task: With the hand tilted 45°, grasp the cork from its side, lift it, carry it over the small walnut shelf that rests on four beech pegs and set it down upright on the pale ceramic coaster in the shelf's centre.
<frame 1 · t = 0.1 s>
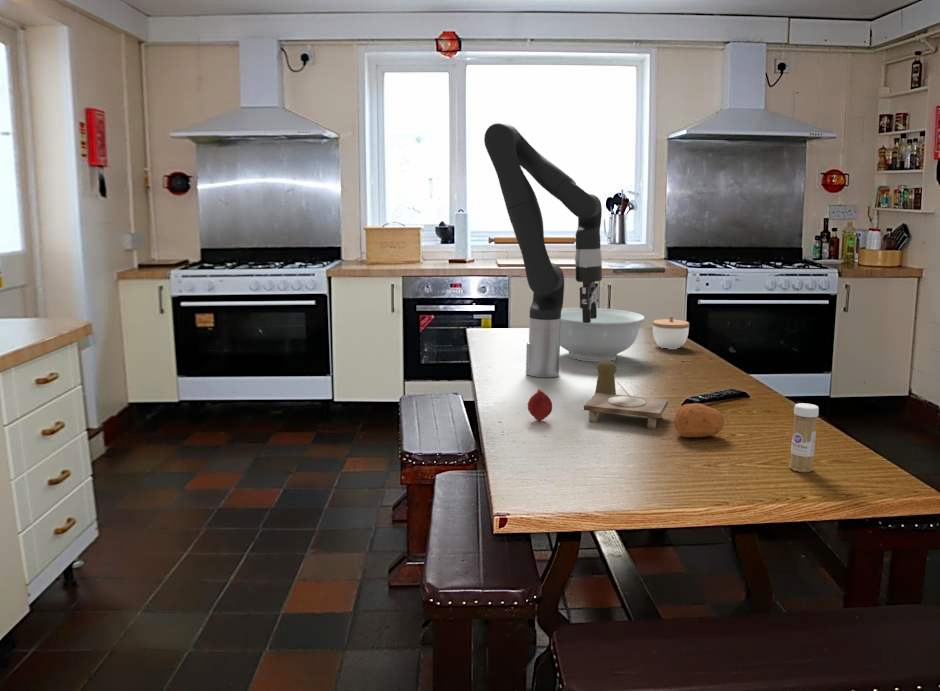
hand: (589, 320, 252), 17 cm above the table, tool pointing down, fingers open, 8 cm apart
lidded bowl: (669, 348, 306), on the table
peg shelf: (625, 419, 212), on the table
onion: (539, 421, 209), on the table
sprinkles bottle: (801, 470, 176), on the table
potato: (698, 437, 199), on the table
cork: (605, 403, 228), on the table
bowl: (592, 358, 287), on the table
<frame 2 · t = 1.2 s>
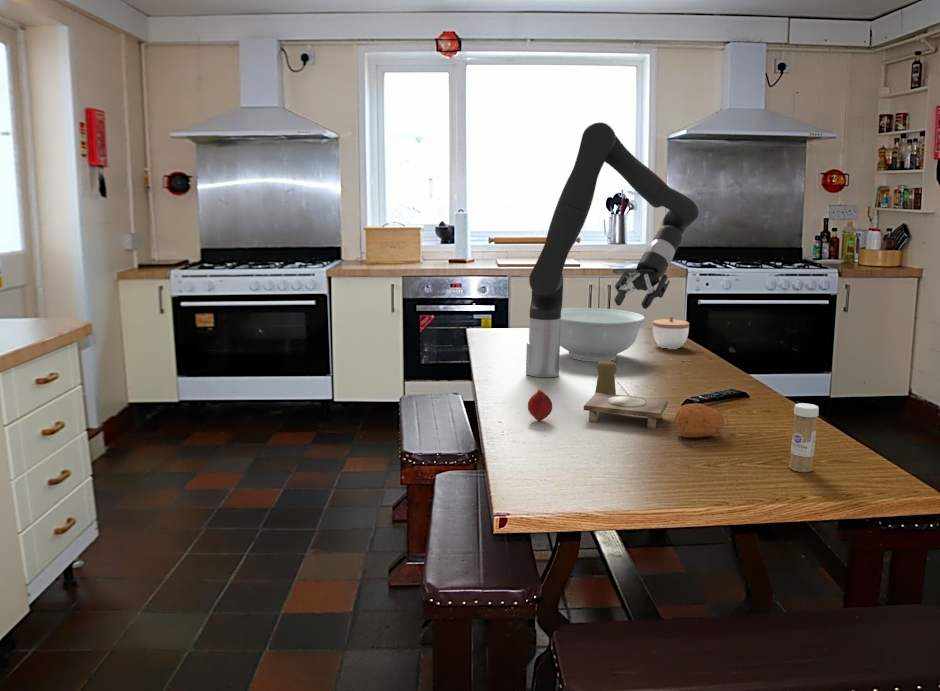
hand: (630, 305, 232), 25 cm above the table, tool tilted 45°, fingers open, 8 cm apart
nothing on the table moved.
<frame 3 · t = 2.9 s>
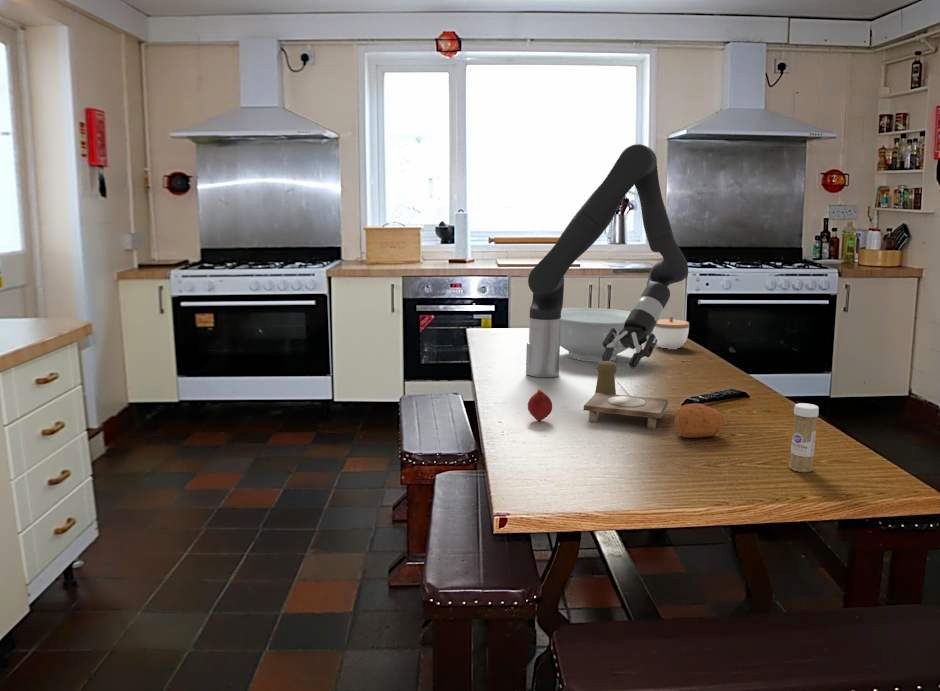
hand: (617, 364, 229), 10 cm above the table, tool tilted 45°, fingers open, 8 cm apart
nothing on the table moved.
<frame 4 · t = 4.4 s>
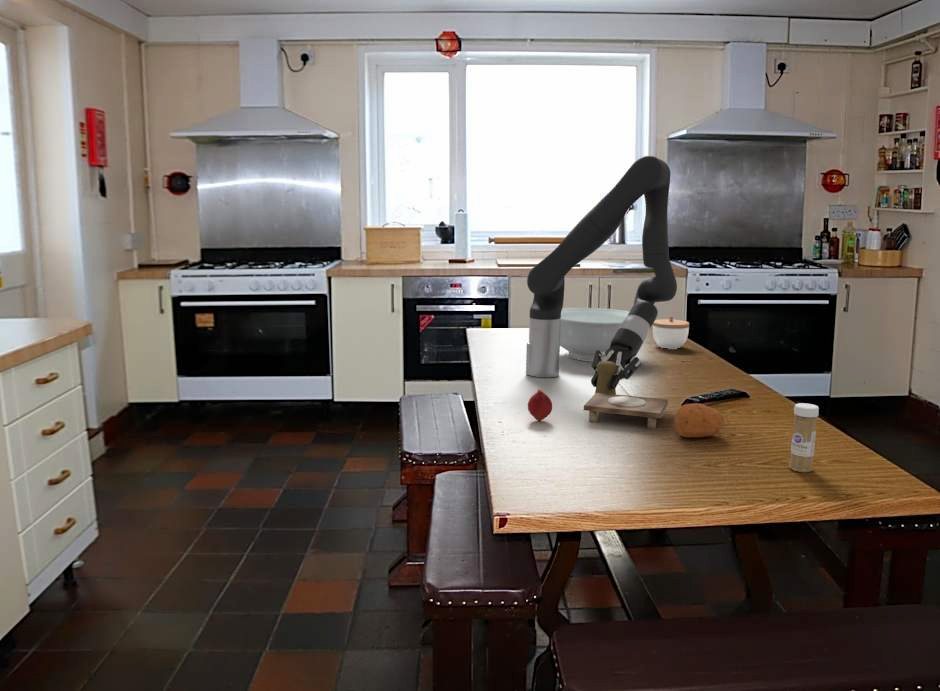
hand: (601, 386, 225), 5 cm above the table, tool tilted 45°, fingers closed on cork, 4 cm apart
cork: (605, 403, 228), on the table, touching gripper
everything else where it was.
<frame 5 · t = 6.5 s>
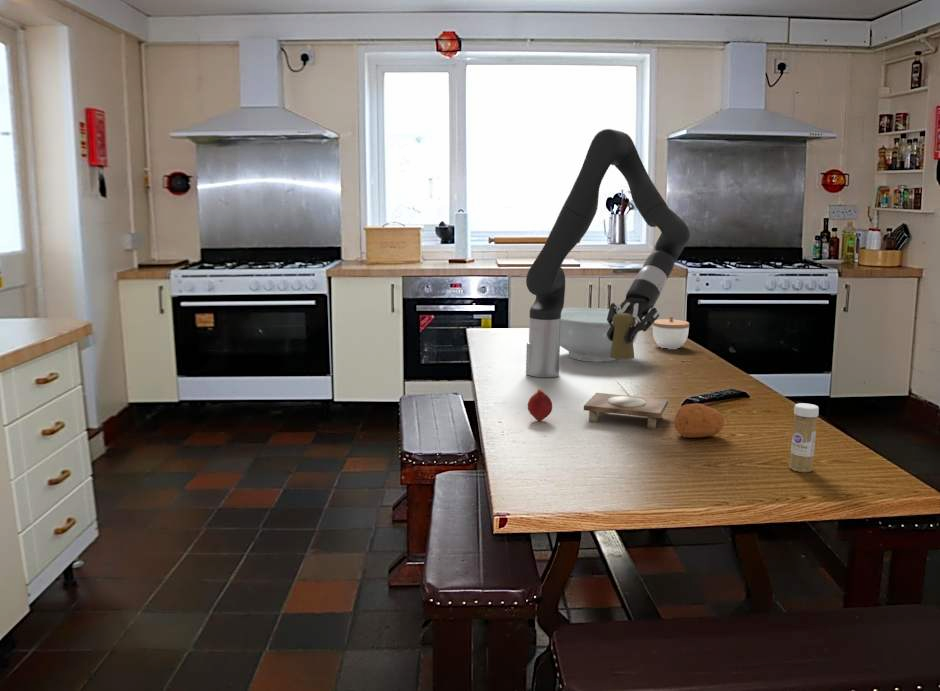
hand: (618, 339, 215), 18 cm above the table, tool tilted 45°, fingers closed on cork, 4 cm apart
cork: (622, 357, 217), point 14 cm above the table, touching gripper
everything else where it was.
when the fingers open (10 cm above the table, at t = 8.8 s): cork drops 1 cm, resting on peg shelf.
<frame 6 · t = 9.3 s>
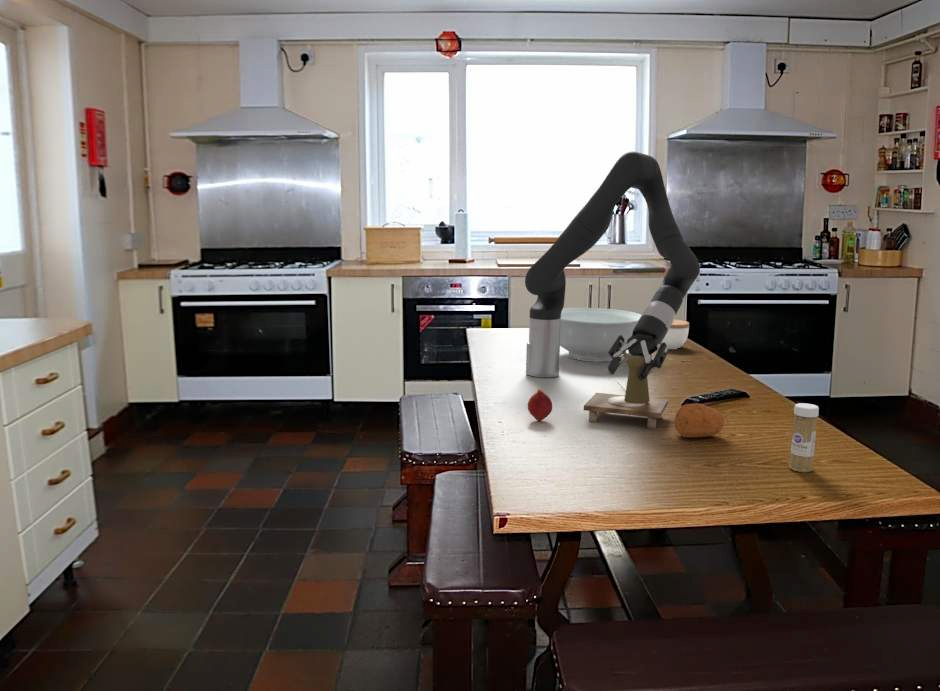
hand: (625, 375, 209), 11 cm above the table, tool tilted 45°, fingers open, 8 cm apart
cork: (636, 401, 211), point 5 cm above the table, touching gripper, peg shelf
everything else where it was.
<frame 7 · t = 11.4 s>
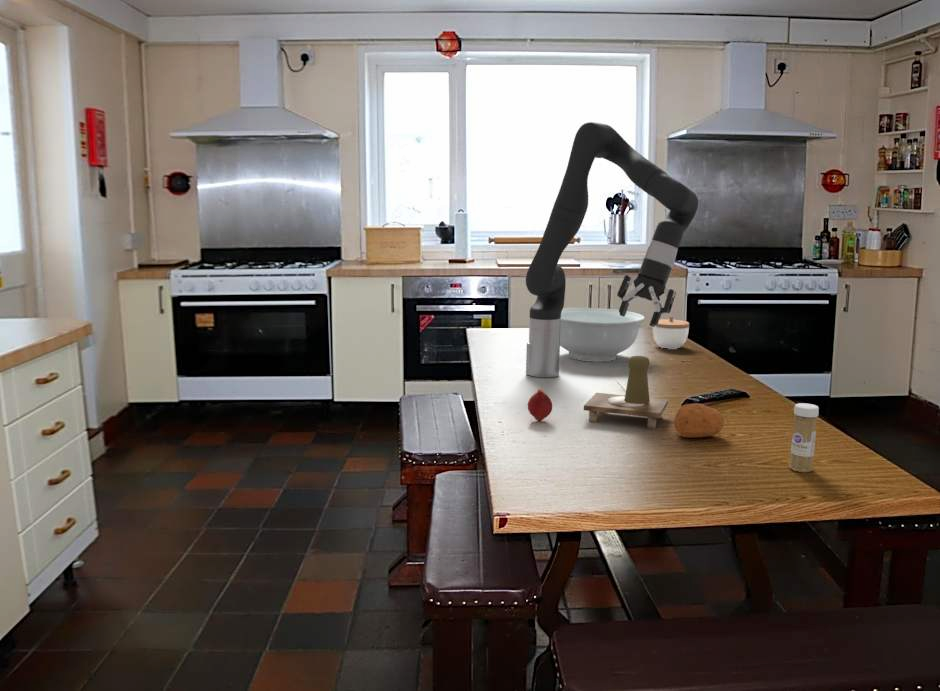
hand: (636, 321, 224), 22 cm above the table, tool tilted 20°, fingers open, 8 cm apart
cork: (636, 401, 211), point 4 cm above the table, touching peg shelf
everything else where it was.
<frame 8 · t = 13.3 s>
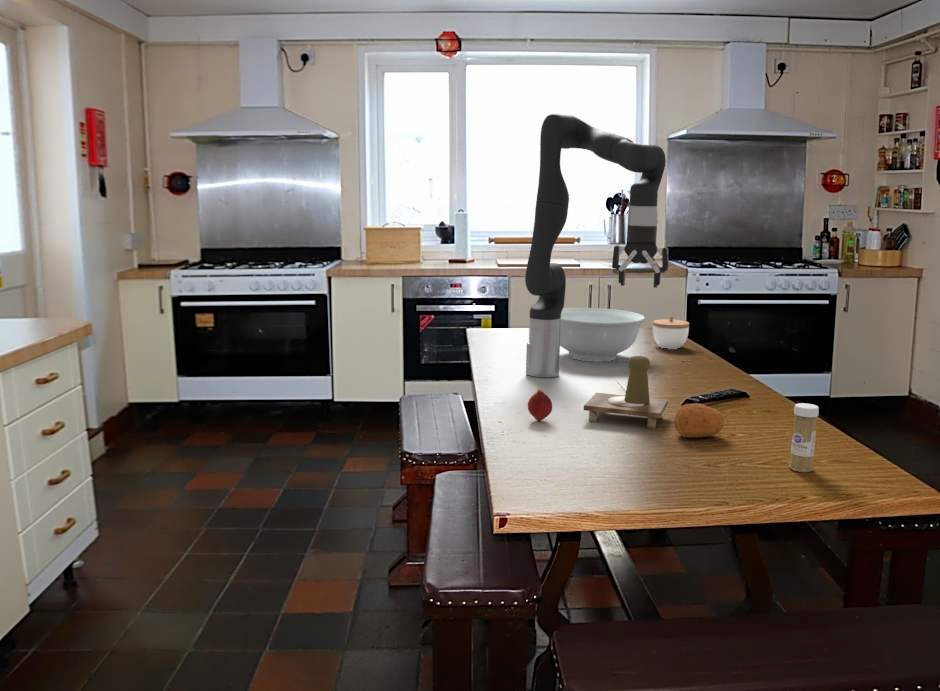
hand: (639, 286, 227), 30 cm above the table, tool pointing down, fingers open, 8 cm apart
nothing on the table moved.
at the end: cork inside the target area on the peg shelf (2.5 cm from its centre), point 4.4 cm above the peg shelf's base; cork tilted 0°; the gripper is holding nothing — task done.
